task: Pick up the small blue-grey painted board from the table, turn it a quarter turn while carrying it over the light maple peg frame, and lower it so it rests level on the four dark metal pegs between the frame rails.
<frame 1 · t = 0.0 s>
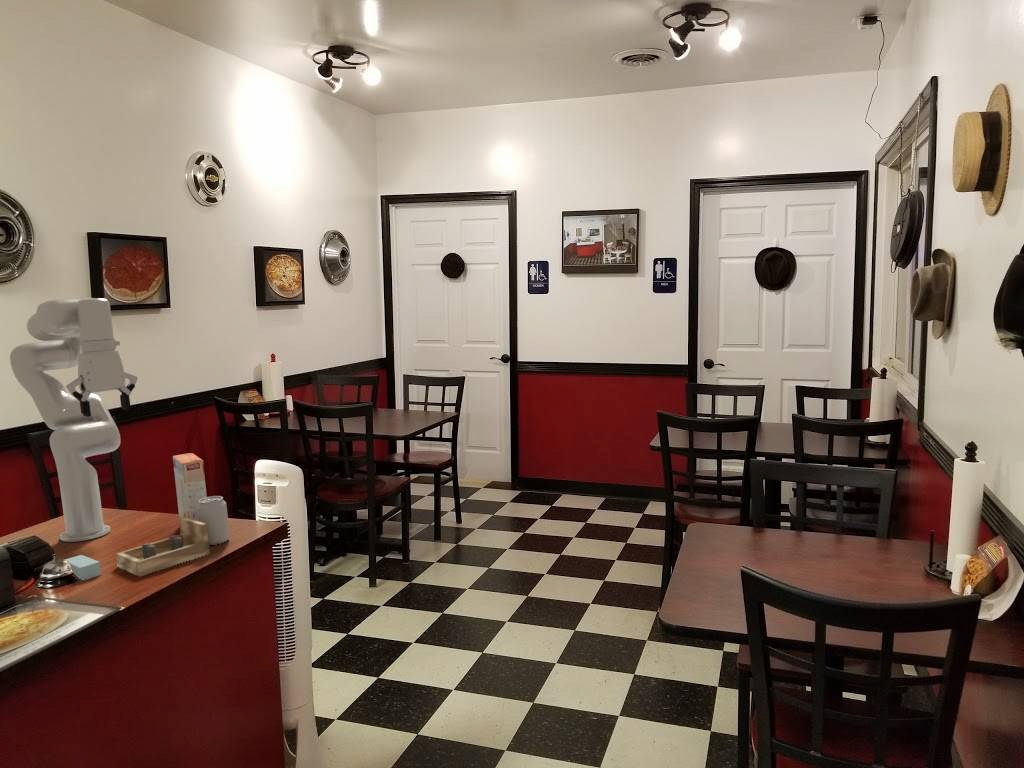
hand: (106, 413, 205), 37 cm above the table, tool pointing down, fingers open, 9 cm apart
can: (215, 542, 212), on the table
cracker box: (195, 530, 224), on the table
peg frame: (164, 560, 199), on the table
board: (82, 574, 193), on the table
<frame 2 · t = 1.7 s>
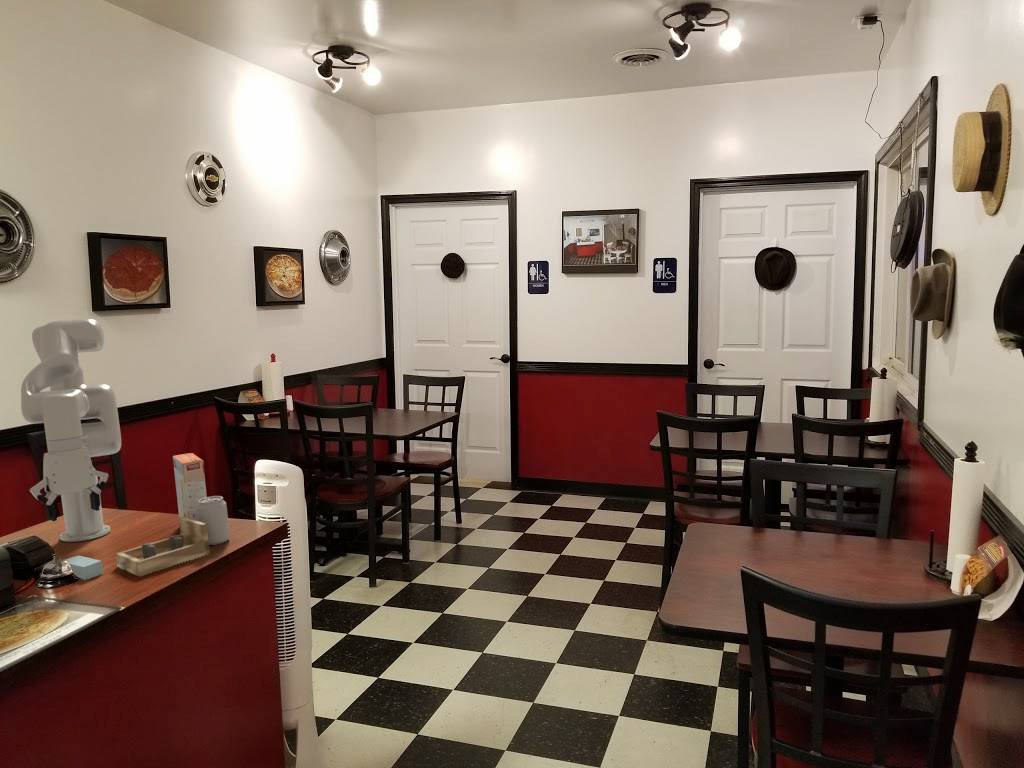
hand: (74, 514, 191), 15 cm above the table, tool pointing down, fingers open, 9 cm apart
nothing on the table moved.
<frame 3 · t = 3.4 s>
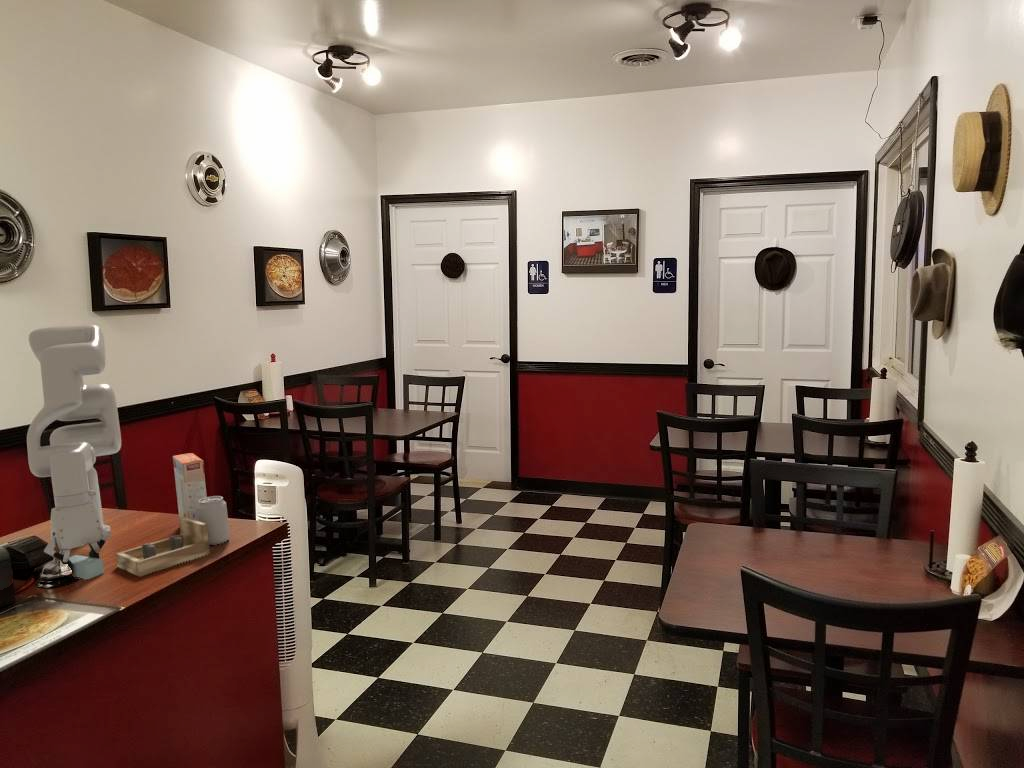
hand: (82, 571, 193), 1 cm above the table, tool pointing down, fingers closed on board, 5 cm apart
board: (82, 573, 193), on the table, touching gripper
everything else where it was.
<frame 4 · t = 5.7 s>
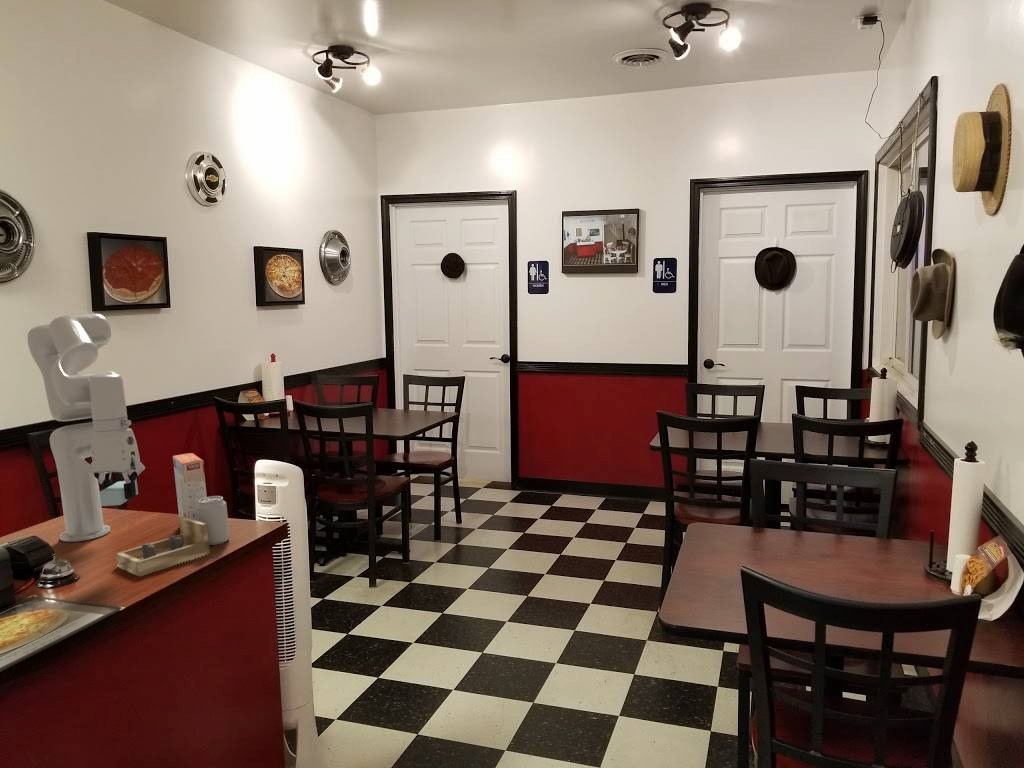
hand: (119, 497, 194), 18 cm above the table, tool pointing down, fingers closed on board, 5 cm apart
board: (120, 499, 194), point 17 cm above the table, touching gripper
everything else where it was.
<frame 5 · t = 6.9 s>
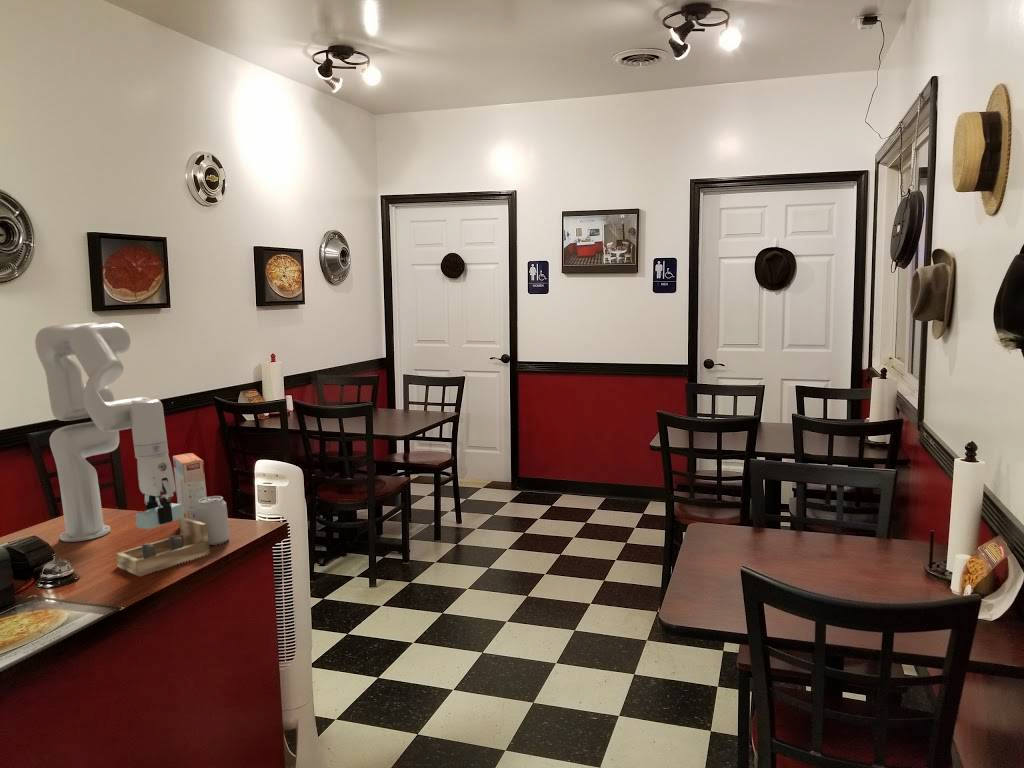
hand: (160, 520, 198), 10 cm above the table, tool pointing down, fingers closed on board, 5 cm apart
board: (160, 522, 198), point 10 cm above the table, touching gripper
everything else where it was.
when the fingers open (6 cm above the table, at t = 8.1 s): board stays where it is, resting on peg frame.
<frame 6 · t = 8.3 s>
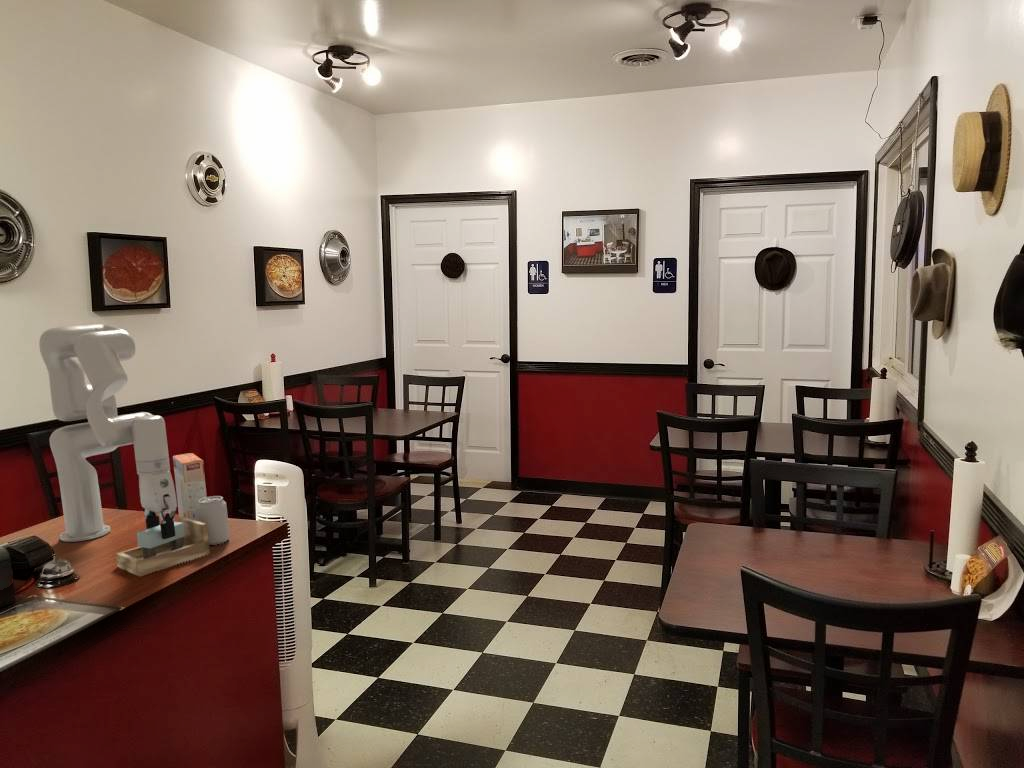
hand: (161, 534, 198), 7 cm above the table, tool pointing down, fingers open, 7 cm apart
board: (161, 541, 199), point 5 cm above the table, touching peg frame
everything else where it was.
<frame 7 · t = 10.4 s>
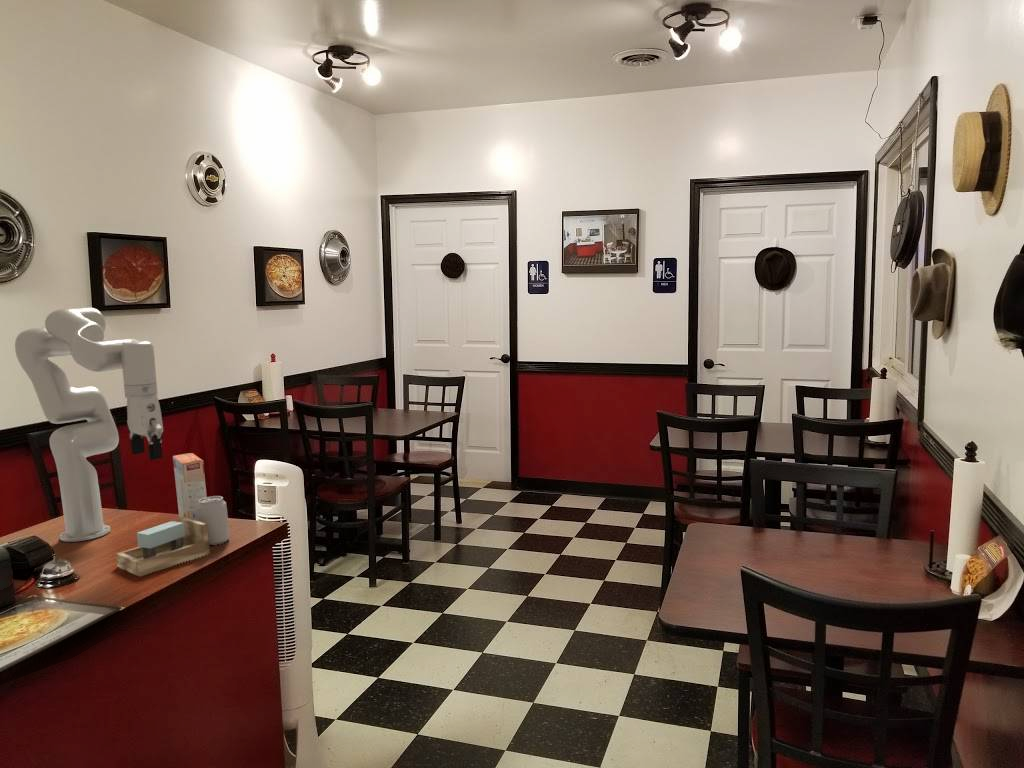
hand: (147, 456, 203), 25 cm above the table, tool pointing down, fingers open, 9 cm apart
nothing on the table moved.
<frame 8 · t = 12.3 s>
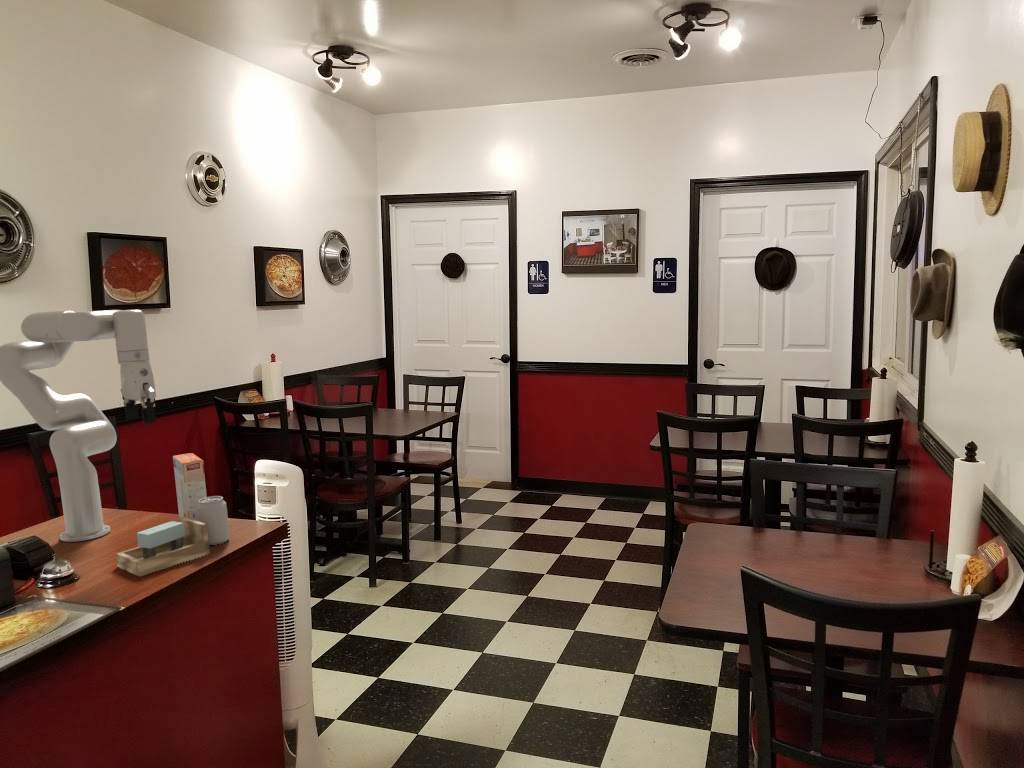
hand: (141, 421, 210), 33 cm above the table, tool pointing down, fingers open, 9 cm apart
nothing on the table moved.
at the end: board 0.1 cm off-centre on the peg frame, point 5.0 cm above the peg frame's base; board tilted 0°; the gripper is holding nothing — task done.
